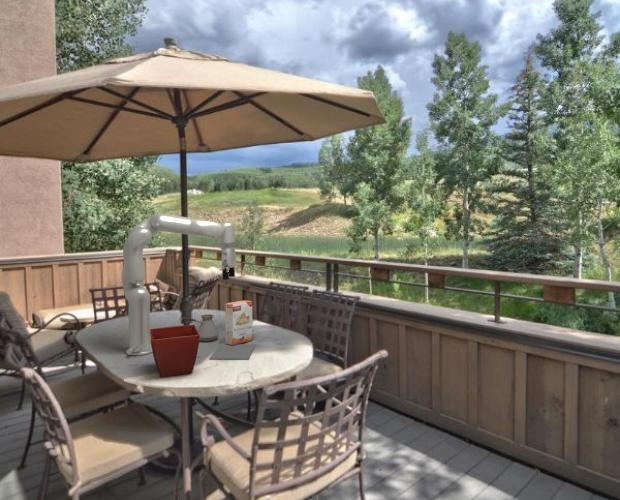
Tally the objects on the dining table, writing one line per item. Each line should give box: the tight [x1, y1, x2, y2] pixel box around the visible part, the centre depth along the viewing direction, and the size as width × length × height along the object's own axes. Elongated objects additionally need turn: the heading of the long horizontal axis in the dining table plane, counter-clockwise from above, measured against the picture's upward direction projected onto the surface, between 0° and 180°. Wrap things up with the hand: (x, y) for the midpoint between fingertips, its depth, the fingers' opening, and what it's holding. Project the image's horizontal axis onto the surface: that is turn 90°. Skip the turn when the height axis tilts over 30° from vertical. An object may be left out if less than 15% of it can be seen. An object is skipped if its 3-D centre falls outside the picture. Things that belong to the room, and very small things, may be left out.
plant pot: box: [150, 324, 200, 378], centre depth 185 cm, size 19×19×17 cm
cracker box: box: [224, 299, 253, 345], centre depth 225 cm, size 14×6×21 cm, turn 143°
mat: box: [208, 343, 256, 361], centre depth 211 cm, size 22×18×1 cm
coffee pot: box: [179, 314, 219, 343], centre depth 227 cm, size 21×12×15 cm, turn 136°
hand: (228, 278), depth 233 cm, fingers open, 9 cm apart
